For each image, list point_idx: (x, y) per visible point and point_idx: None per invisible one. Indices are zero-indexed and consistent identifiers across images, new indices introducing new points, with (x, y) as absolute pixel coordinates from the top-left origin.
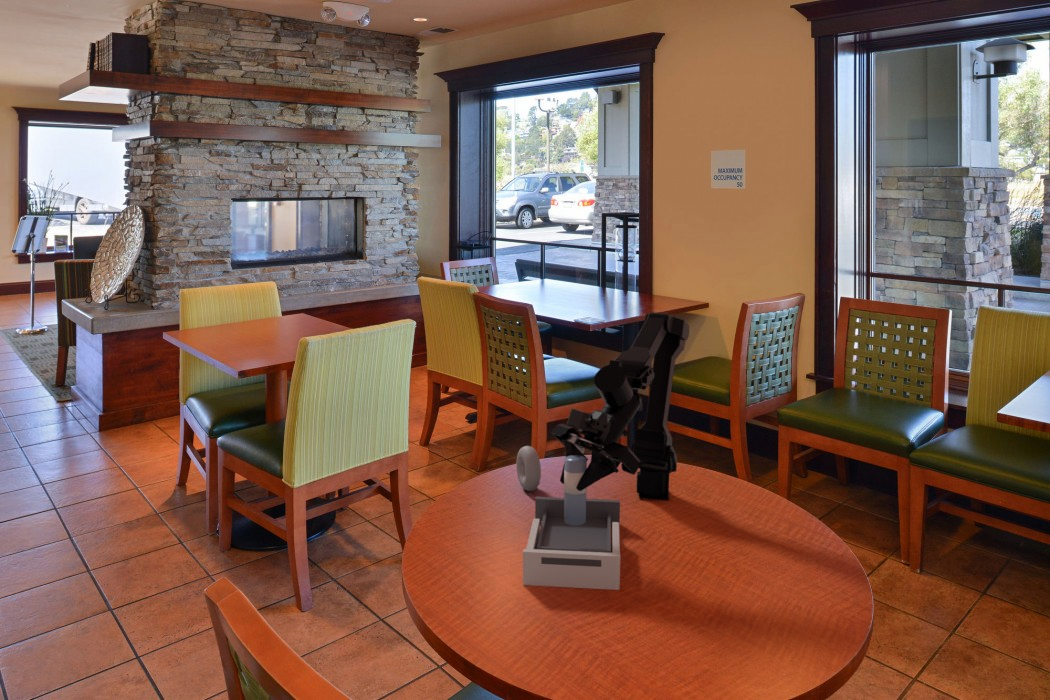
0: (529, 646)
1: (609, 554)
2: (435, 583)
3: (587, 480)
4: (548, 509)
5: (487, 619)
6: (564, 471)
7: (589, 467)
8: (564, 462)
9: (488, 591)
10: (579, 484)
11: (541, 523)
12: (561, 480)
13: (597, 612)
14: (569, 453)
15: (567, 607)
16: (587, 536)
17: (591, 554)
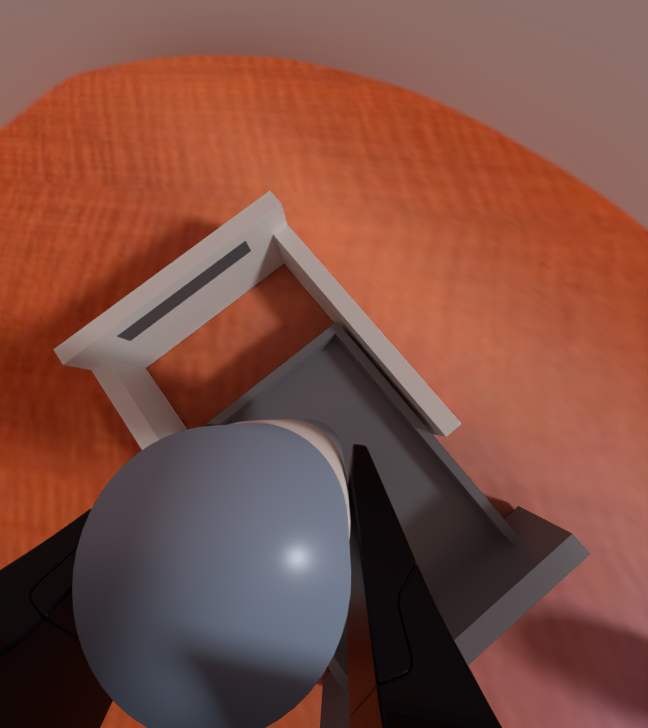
0: (144, 127)
1: (83, 338)
2: (415, 135)
3: None
4: (510, 548)
5: (248, 128)
6: (310, 438)
7: (67, 560)
8: (420, 571)
9: (318, 184)
10: None
11: (442, 446)
12: (353, 446)
13: (115, 272)
14: (428, 718)
15: (167, 246)
16: None
17: (121, 304)
